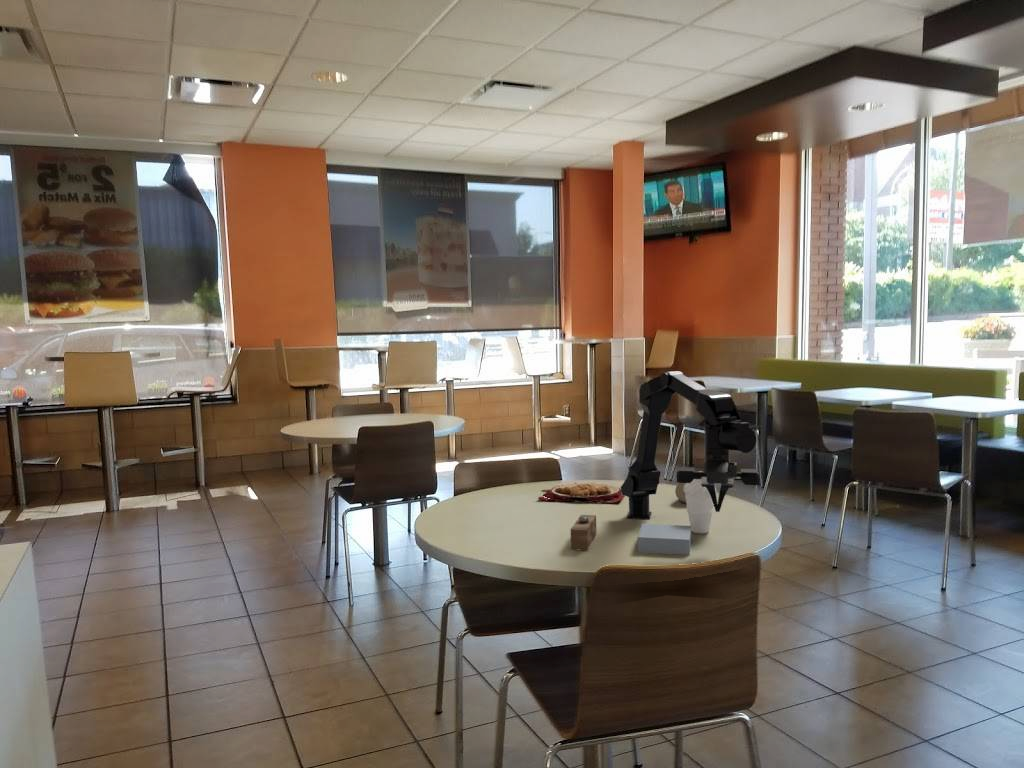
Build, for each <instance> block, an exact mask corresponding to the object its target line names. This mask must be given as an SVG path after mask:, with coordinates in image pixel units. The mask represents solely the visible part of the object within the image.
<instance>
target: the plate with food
mask: <svg viewBox="0 0 1024 768" xmlns="http://www.w3.org/2000/svg"><path fill="white" fill-rule="evenodd" d="M540 492H543V493H542V496H545V497H547V498H544V497H542V496H538V500H541V501H545V502H547V501H555V502H556V501H557V503H559V502H561V501H565V502H573V501H574V502H575V503H576V502H577V503H579V502H580V501H579V500H576V499H572V498H579V499H581V498H582V499H586V500H588V501H587V503H590V504H592V503H593V504H598V505H599V504H611V503H612V504H613V503H618V502H621V501H622V500H623V498H625V496H624V495H622V492H621V487H618V486H614V485H611V484H606V483H605V484H604V483H596V482H595V483H593V482H588V483H586V482H584V483H583V482H579V483H578V482H575V483H569V484H562V485H559V486H556V487H553V488H551V489H548V488H547V489H542V490H540ZM547 493H548V494H547ZM548 498H550V499H548Z"/></svg>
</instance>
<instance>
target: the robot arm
mask: <svg viewBox="0 0 1024 768" xmlns="http://www.w3.org/2000/svg"><path fill="white" fill-rule="evenodd" d="M638 393H639V396H638V398H639V399H638V403H639V405H640V406H641V408H642V410H643V413H642V421H641V426H640V427H641V429H640V432H639V433H640V435H639V440H638V448H637V454H636V459H635V461H634V462H633V463H632V464H631V466H630V467H629V468H628V469H629V470H628V472H627V477H626V478H625V480H624V481H623V483H622V484H621V486H620V489H621V492H622V495H624V497H627V498H628V512H627V515H626V519H645V520H648V519H651V517H652V511H650V495H656V494H657V492H658V491H657V490H658V486H659V484H660V476H661V471H660V470H659V468H658V467H657V465H656V455H657V450H658V449H657V448H658V442H659V436H660V429H661V422H662V418H663V417H662V416H663V414H664V413H665V412H666V410H667V409H668V408H669V407H670V405H671V401H672V398H673V396H674V395H676V394H678V395H679V396H681V397H683V399H686V400H687V401H689V402H690V403H692V404H693V405H694V406H695V410H696V411H697V413H698V414H699V415H701V417H702V418H703V419H702V420H701V421H700V422H699V423H698V425H699V427H703V428H704V465H703V467H704V470H703V471H702V472H701V470H699V471H698V470H697V471H695V467H690V466H689V467H688V466H687V467H685V466H684V467H683V466H681V467H678V468H677V470H676V483H677V484H678V483H691V482H692V481H693V479H701V481H702V484H701V486H702V487H706V488H707V490H708V492H709V494H710V496H711V498H712V501H713V508H714V510H715V513H719V512H720V511H721V508H722V505H723V502H724V499H725V496H726V494H727V492H728V490H729V489H731V488H734V487H735V486H734V485H735V484H734V482H735V481H741V482H742V483H743V484H744V485H745V486H759V485H760V472H759V471H758V470H757V469H756V468H740V471H739V472H738V467H737V466H738V463H737V462H733V461H731V458H730V455H731V454H730V453H731V451H732V452H738V453H743V454H748V453H751V452H752V451H753V450H754V449H755V447H756V444H757V436H756V434H755V432H754V431H753V429H751V428H750V423H749V422H745V421H744V420H743V418H742V415H741V413H740V412H739V409H738V408H737V406H736V403H735V401H734V398H733V397H732V396H731V395H730V394H729V393H725V392H722V391H720V390H719V391H718V390H713V389H709V388H706V387H704V386H703V385H701V384H699V383H698V382H696V381H695V380H692V379H691V378H690V377H687V375H684V373H683V372H682V371H679V370H674V371H673V370H671V371H670V370H669V371H665V372H662V373H661V374H660V375H659V376H657V377H654V378H652V379H649V380H648V381H646V382H644V383H642V384H640V388H639V391H638ZM716 484H719V491H718V497H717V489H716V490H715V488H716ZM717 498H718V499H717Z"/></svg>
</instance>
